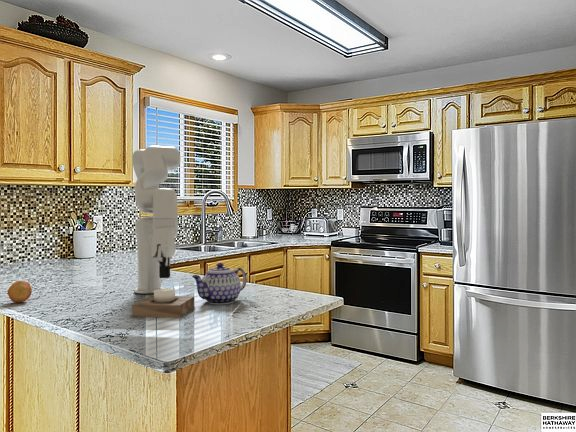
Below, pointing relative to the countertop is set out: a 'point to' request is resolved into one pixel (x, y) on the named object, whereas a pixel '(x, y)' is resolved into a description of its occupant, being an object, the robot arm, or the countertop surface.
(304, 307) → the countertop surface
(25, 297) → the fruit
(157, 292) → the button
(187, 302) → the housing
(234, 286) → the teapot
